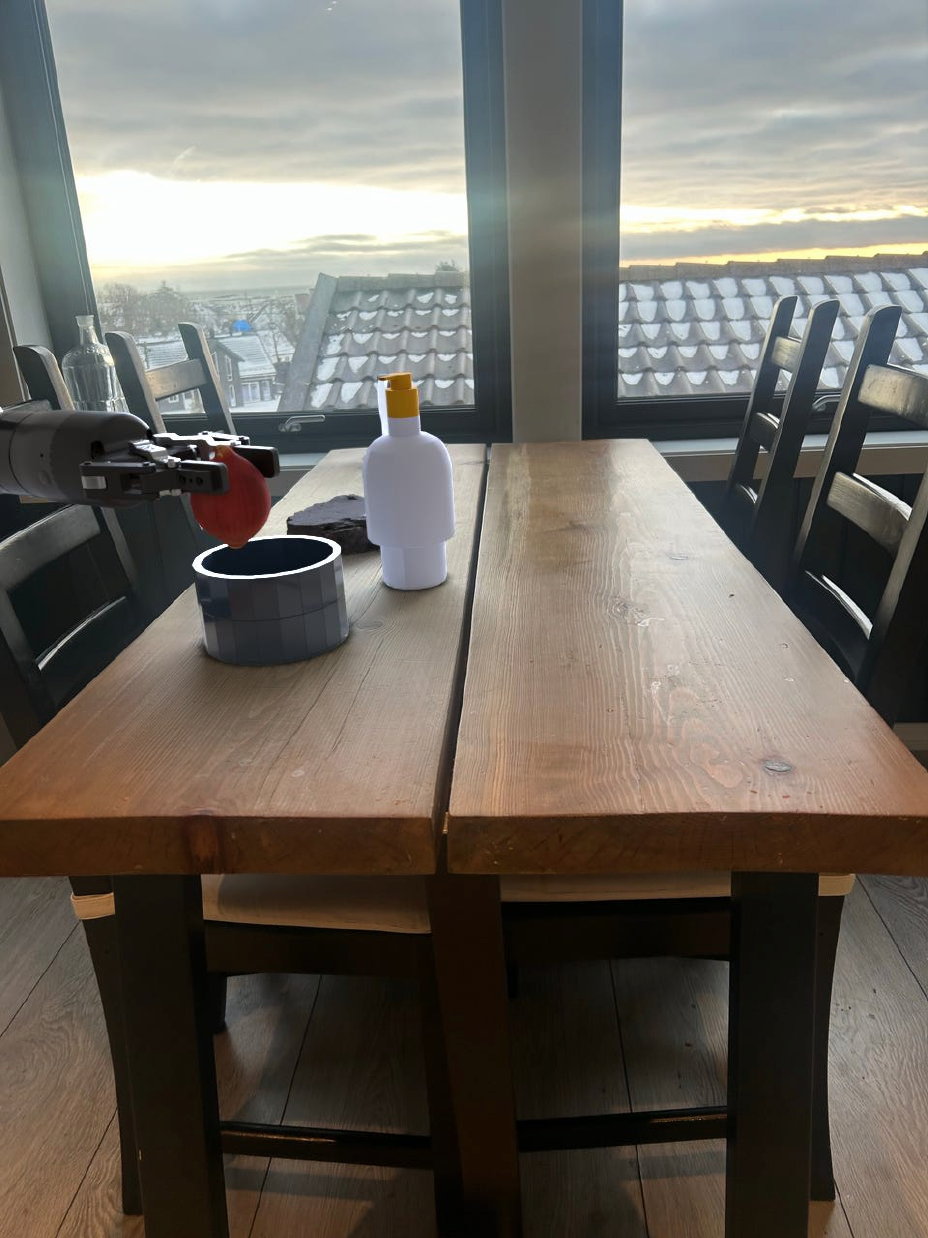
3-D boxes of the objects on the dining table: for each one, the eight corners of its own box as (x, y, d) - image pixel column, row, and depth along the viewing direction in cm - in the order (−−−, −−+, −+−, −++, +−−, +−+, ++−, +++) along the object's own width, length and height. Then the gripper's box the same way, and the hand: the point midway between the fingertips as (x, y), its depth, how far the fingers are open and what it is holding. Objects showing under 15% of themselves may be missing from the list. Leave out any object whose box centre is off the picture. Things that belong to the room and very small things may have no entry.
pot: (288, 676, 94) (277, 585, 91) (175, 653, 101) (161, 568, 98) (376, 624, 106) (369, 542, 102) (269, 607, 113) (259, 530, 109)
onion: (231, 533, 79) (217, 432, 76) (291, 539, 77) (279, 436, 74) (182, 555, 75) (165, 449, 72) (244, 563, 72) (229, 453, 69)
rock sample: (297, 565, 127) (293, 527, 125) (278, 535, 141) (274, 501, 139) (428, 546, 132) (426, 510, 130) (397, 519, 146) (394, 486, 144)
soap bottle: (354, 587, 118) (334, 378, 109) (410, 564, 125) (395, 366, 117) (421, 601, 112) (405, 381, 103) (476, 576, 119) (465, 369, 111)
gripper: (-1, 426, 73) (175, 436, 65) (143, 397, 85) (306, 403, 77) (20, 526, 76) (191, 547, 68) (156, 484, 87) (315, 498, 80)
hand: (251, 470), depth 73 cm, fingers closed on onion, 5 cm apart
